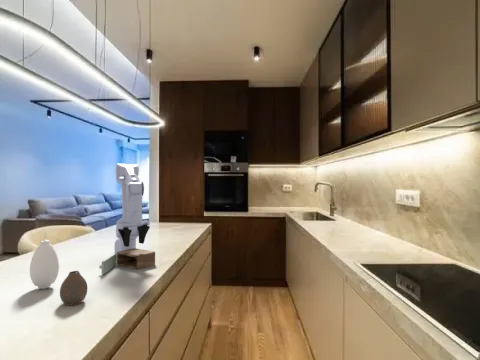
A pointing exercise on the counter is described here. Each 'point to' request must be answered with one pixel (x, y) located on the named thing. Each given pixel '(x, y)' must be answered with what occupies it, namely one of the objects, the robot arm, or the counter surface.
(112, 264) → the door
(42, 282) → the white tall ovoid
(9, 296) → the counter surface
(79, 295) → the vase
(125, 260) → the brown wooden box
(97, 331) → the counter surface
